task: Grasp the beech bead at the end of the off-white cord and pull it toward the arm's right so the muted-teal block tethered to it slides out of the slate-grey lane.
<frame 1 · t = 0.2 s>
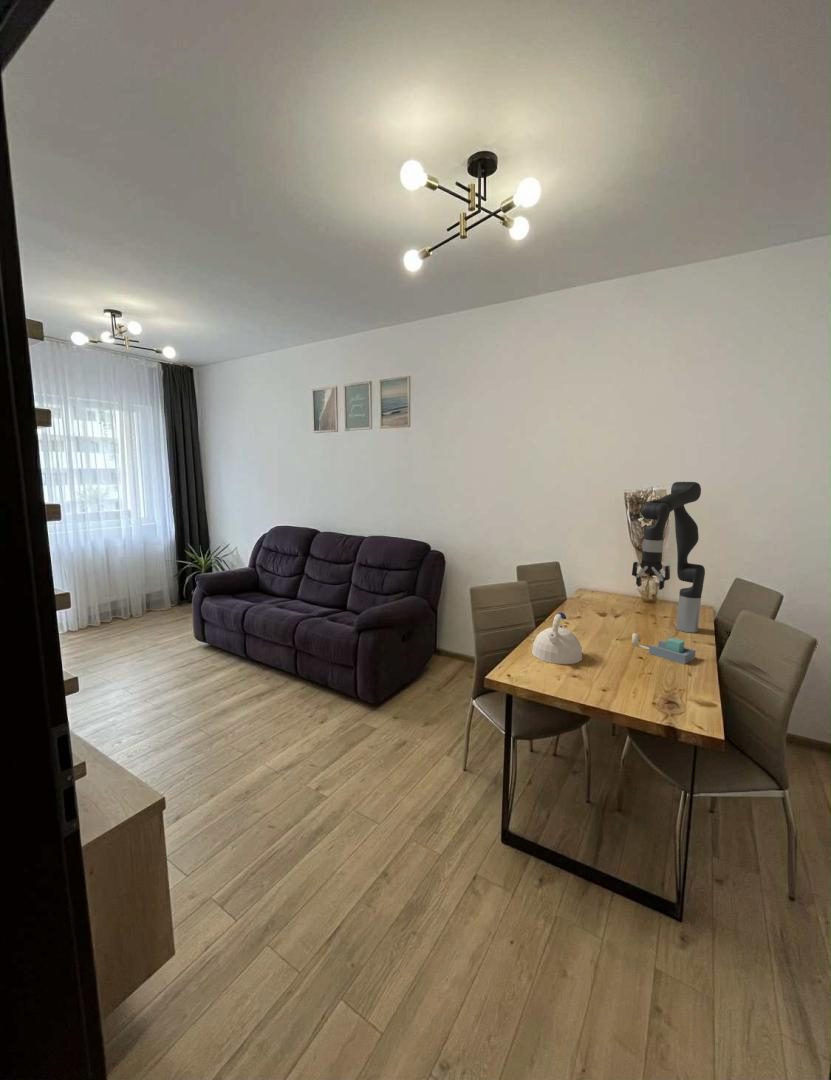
hand: (649, 587, 191), 28 cm above the table, fingers open, 8 cm apart
lane: (671, 655, 188), on the table
kettle: (556, 655, 188), on the table
tethered block: (674, 656, 187), on the table
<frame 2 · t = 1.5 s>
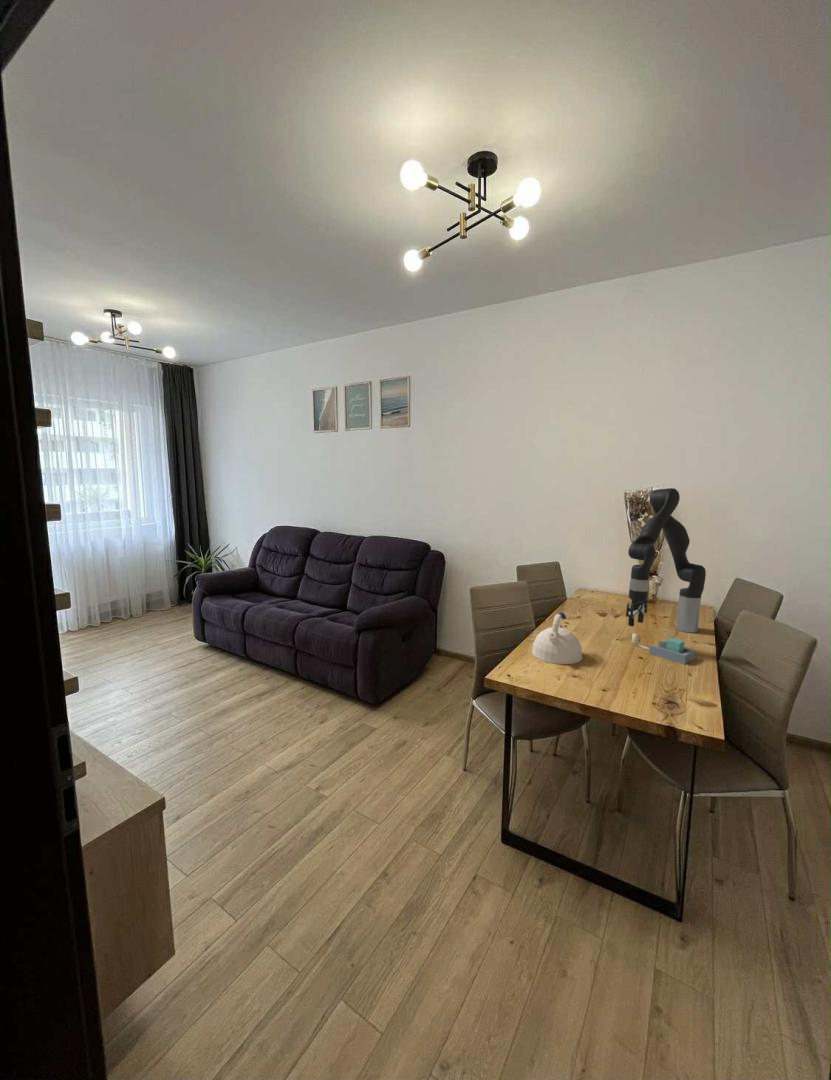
hand: (635, 624, 199), 10 cm above the table, fingers open, 8 cm apart
nothing on the table moved.
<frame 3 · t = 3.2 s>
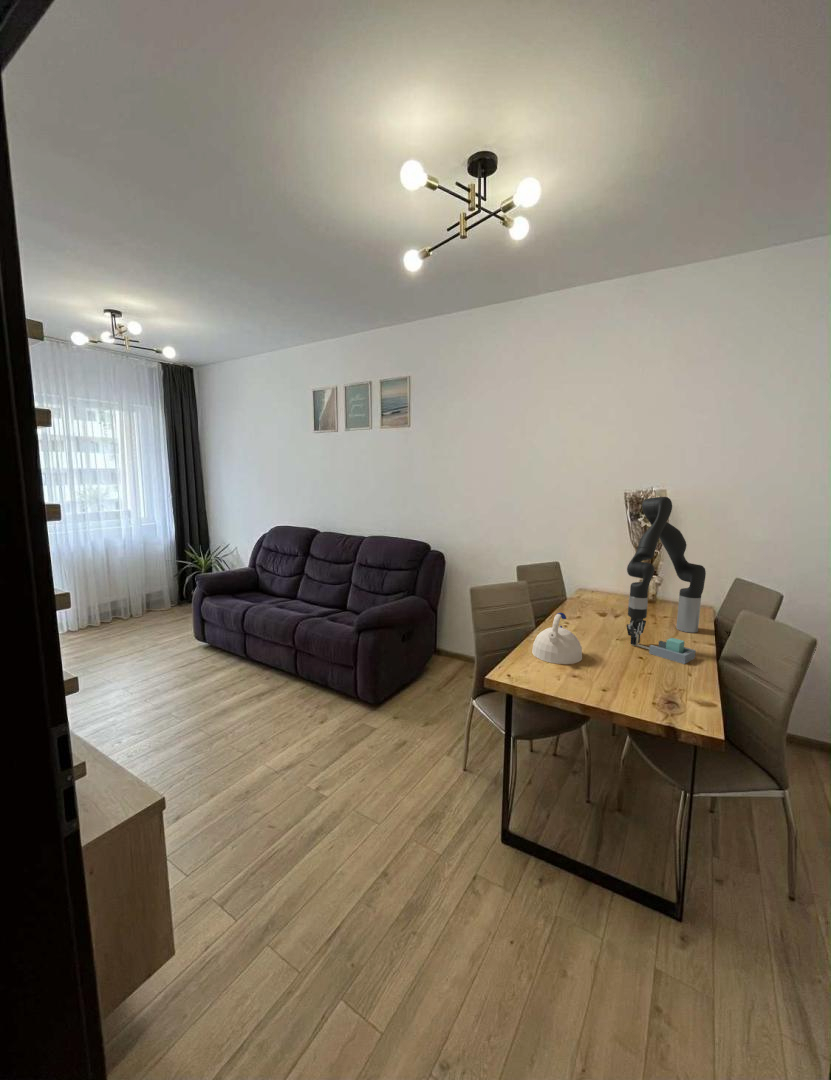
hand: (634, 643, 200), 1 cm above the table, fingers closed on tethered block, 2 cm apart
tethered block: (674, 656, 187), on the table, touching gripper
everything else where it was.
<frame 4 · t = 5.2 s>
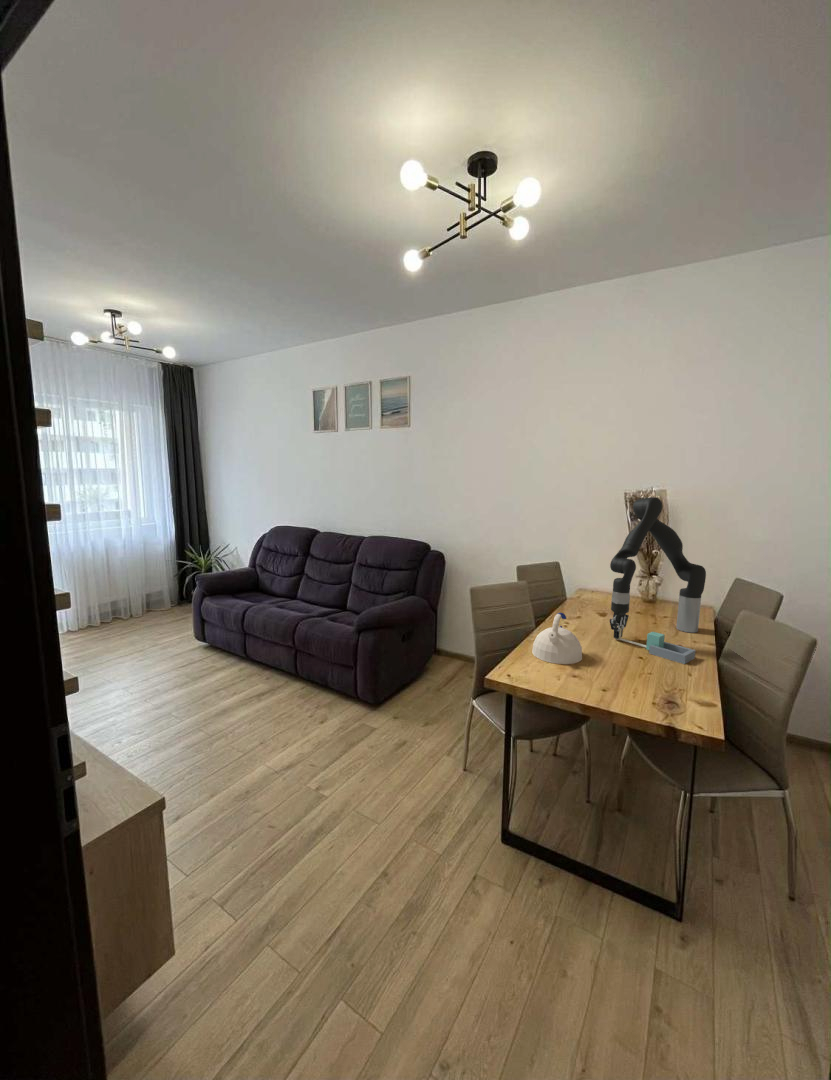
hand: (617, 637, 206), 1 cm above the table, fingers closed on tethered block, 2 cm apart
tethered block: (654, 649, 193), point 1 cm above the table, touching gripper
everything else where it was.
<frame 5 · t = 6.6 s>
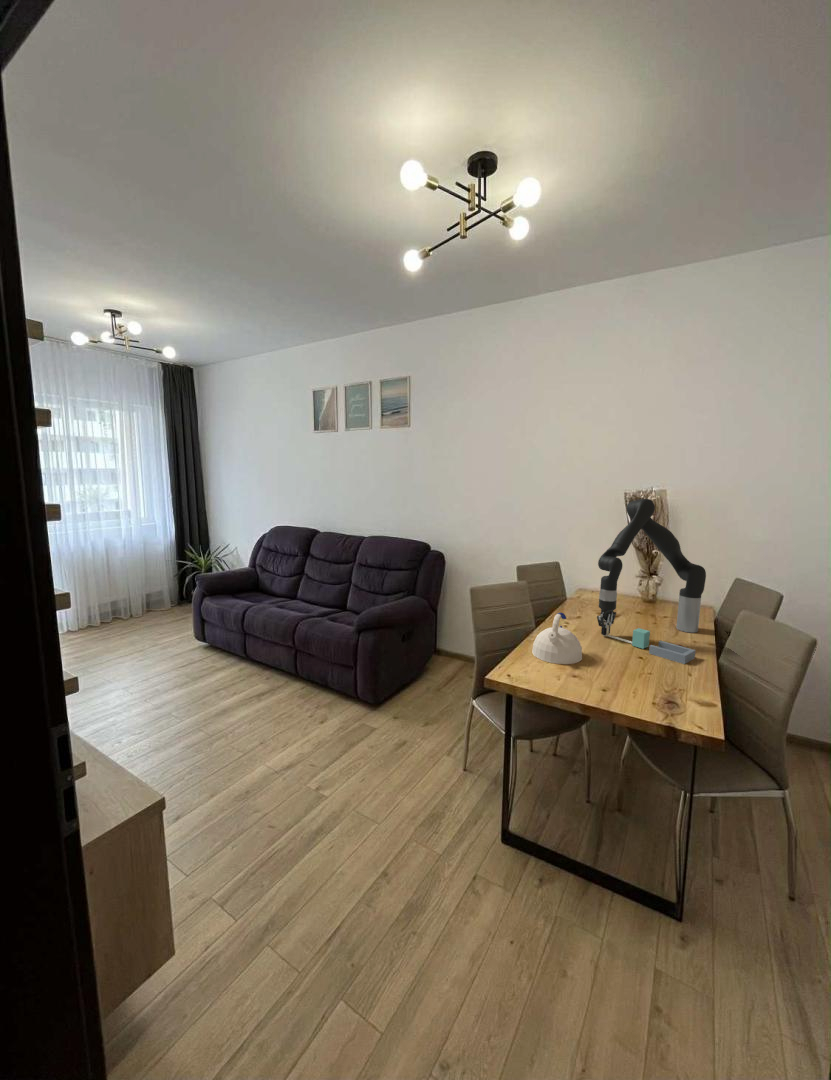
hand: (605, 633, 211), 1 cm above the table, fingers closed on tethered block, 2 cm apart
tethered block: (640, 645, 198), on the table, touching gripper
everything else where it was.
when the fingers open (1 cm above the table, at t = 7.5 s): tethered block stays where it is, on the table.
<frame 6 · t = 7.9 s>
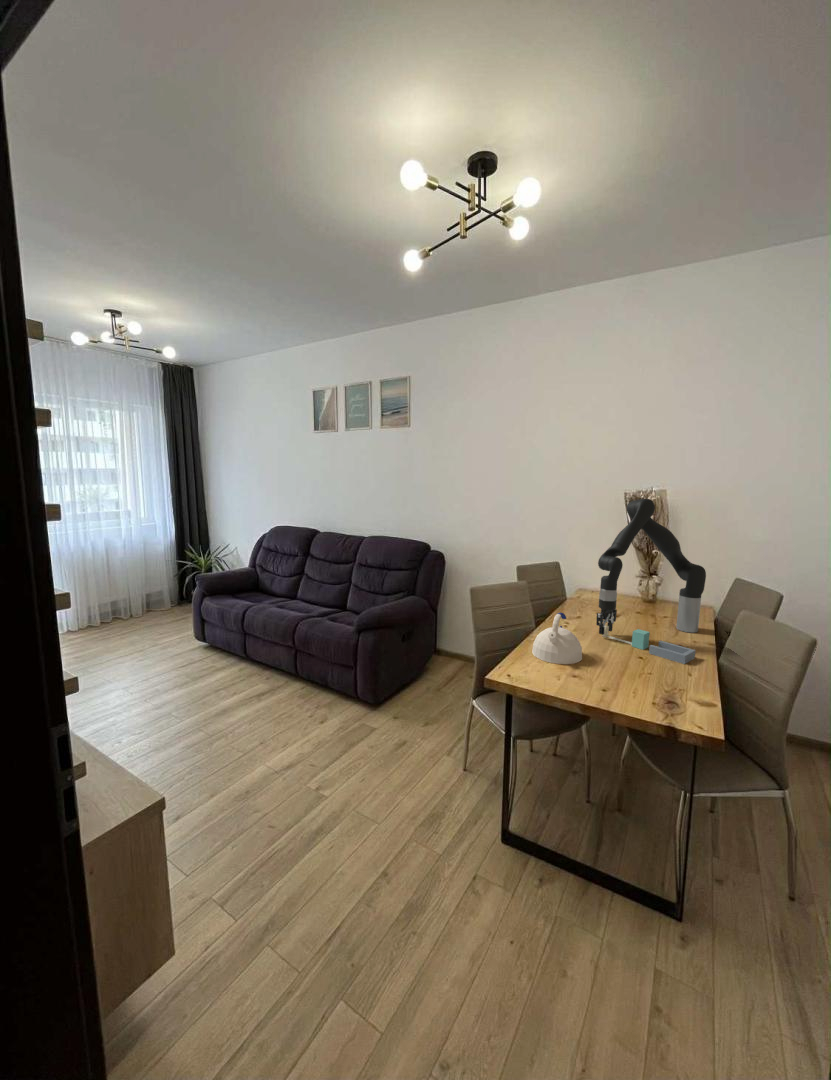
hand: (605, 632, 211), 2 cm above the table, fingers open, 6 cm apart
tethered block: (639, 646, 198), on the table
everything else where it was.
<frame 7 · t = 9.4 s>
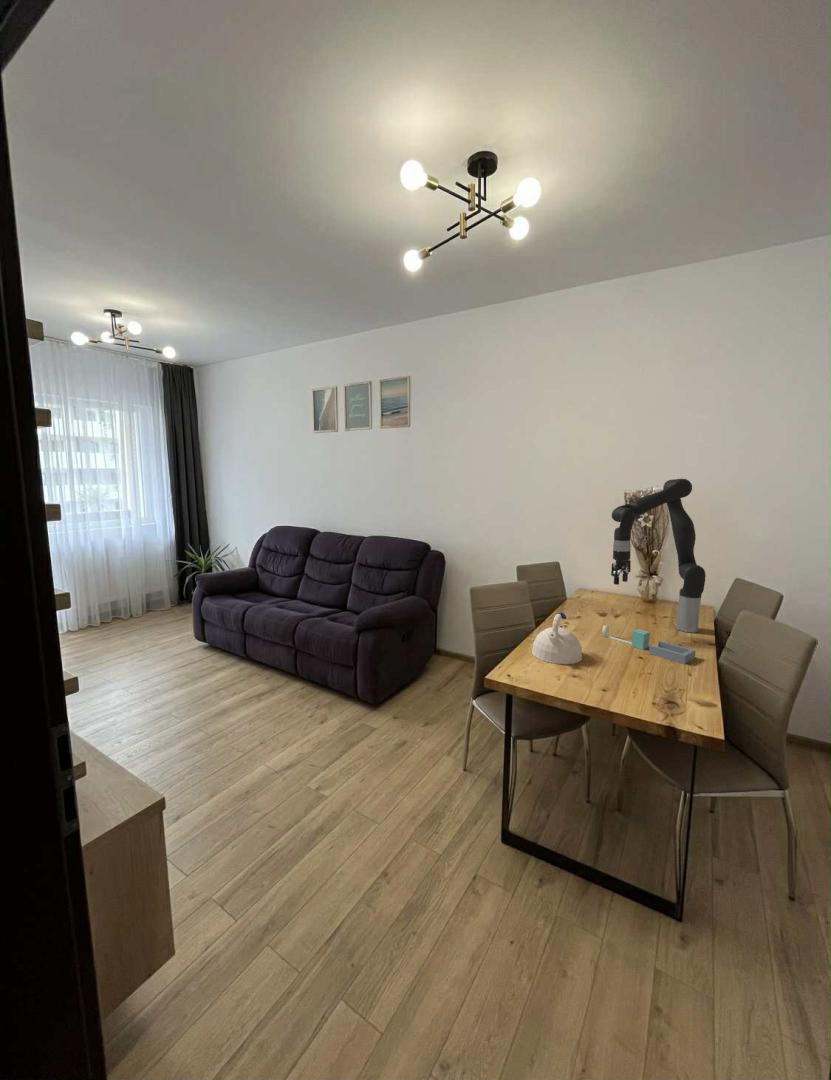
hand: (620, 583, 214), 25 cm above the table, fingers open, 8 cm apart
nothing on the table moved.
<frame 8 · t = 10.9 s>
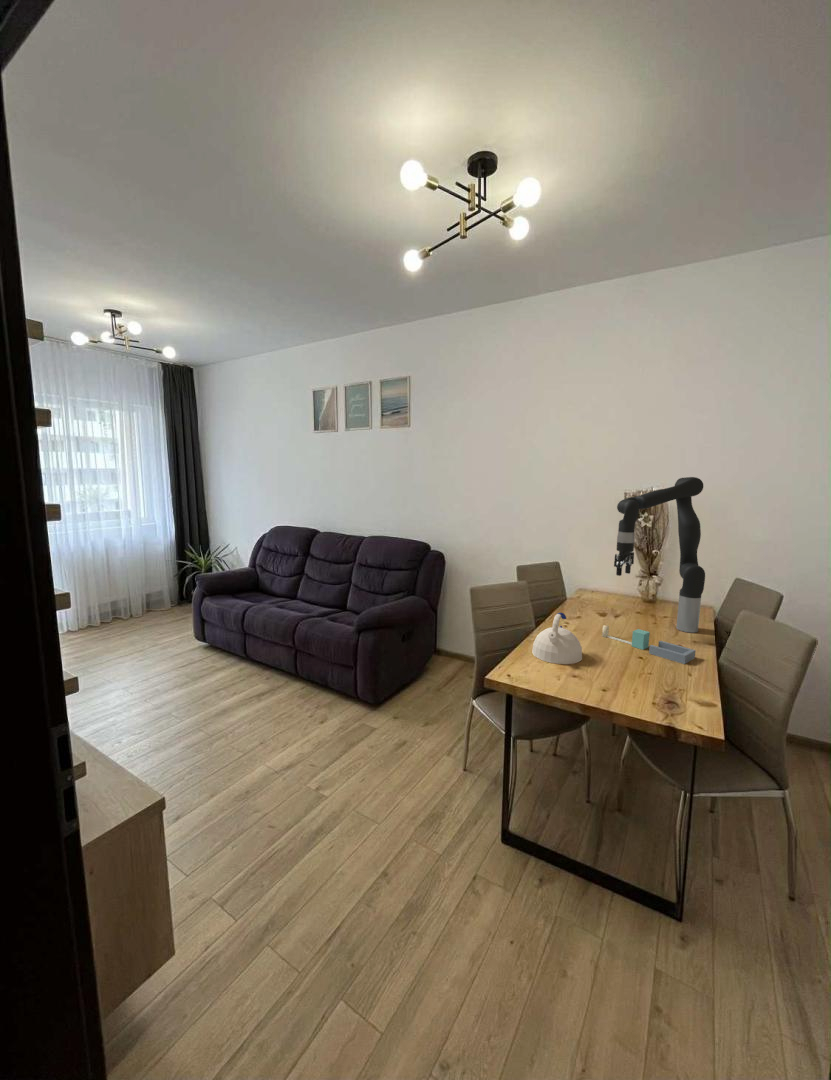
hand: (623, 574, 216), 28 cm above the table, fingers open, 8 cm apart
nothing on the table moved.
at the end: tethered block inside the target area (7.2 cm from its centre), on the table; tethered block moved 14.1 cm from its start; the gripper is holding nothing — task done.
